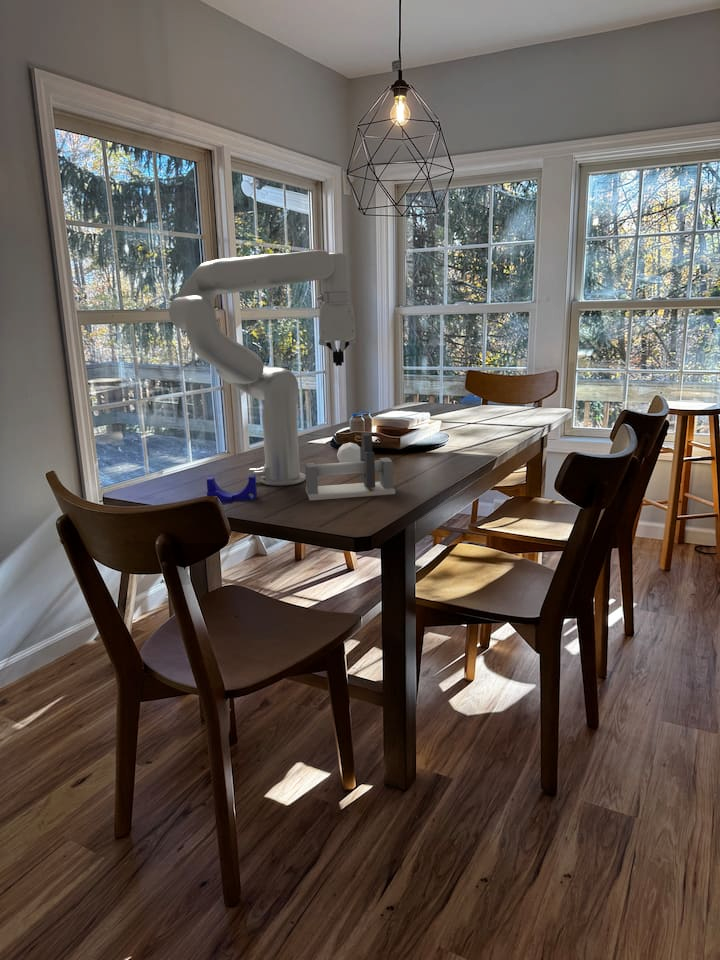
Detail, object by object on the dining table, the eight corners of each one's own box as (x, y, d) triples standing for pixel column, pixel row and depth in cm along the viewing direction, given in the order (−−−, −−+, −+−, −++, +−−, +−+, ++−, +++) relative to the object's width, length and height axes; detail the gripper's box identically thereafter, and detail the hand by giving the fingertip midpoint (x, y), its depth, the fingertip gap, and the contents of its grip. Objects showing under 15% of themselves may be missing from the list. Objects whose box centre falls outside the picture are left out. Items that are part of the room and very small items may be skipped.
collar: (367, 487, 170) (366, 437, 167) (361, 479, 179) (359, 431, 176) (375, 487, 171) (373, 437, 168) (368, 479, 179) (367, 431, 176)
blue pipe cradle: (207, 504, 169) (205, 480, 167) (210, 499, 173) (208, 476, 171) (255, 501, 169) (254, 478, 168) (257, 497, 174) (255, 474, 172)
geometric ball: (354, 474, 206) (367, 452, 206) (353, 471, 198) (367, 448, 198) (333, 462, 206) (346, 440, 207) (331, 458, 198) (345, 435, 199)
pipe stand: (309, 500, 168) (308, 469, 166) (305, 490, 178) (304, 460, 176) (395, 493, 172) (394, 463, 170) (386, 484, 181) (386, 455, 179)
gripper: (309, 300, 183) (313, 367, 188) (363, 298, 185) (366, 365, 190) (308, 300, 191) (311, 365, 195) (360, 298, 192) (362, 363, 197)
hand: (338, 365), depth 192 cm, fingers closed
